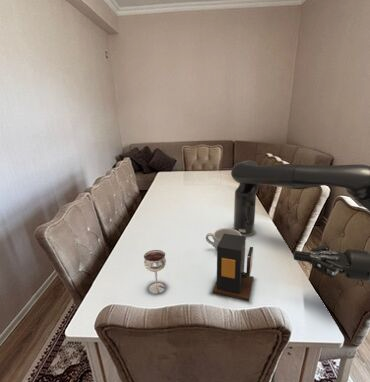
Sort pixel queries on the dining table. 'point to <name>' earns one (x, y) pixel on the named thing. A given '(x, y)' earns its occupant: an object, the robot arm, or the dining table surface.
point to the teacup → (220, 235)
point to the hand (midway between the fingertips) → (294, 255)
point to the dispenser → (232, 268)
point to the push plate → (249, 262)
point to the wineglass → (155, 267)
